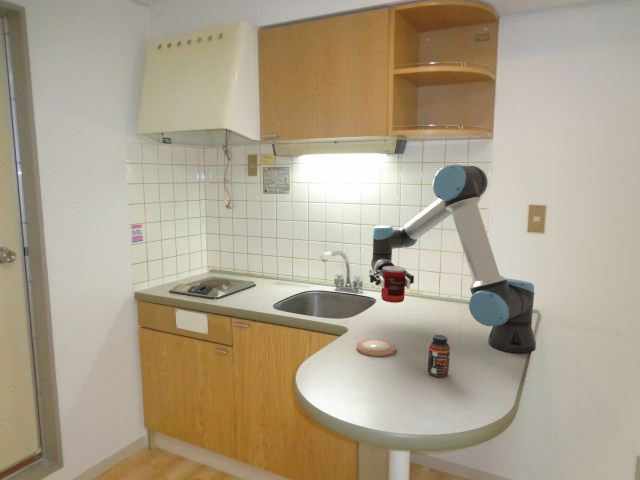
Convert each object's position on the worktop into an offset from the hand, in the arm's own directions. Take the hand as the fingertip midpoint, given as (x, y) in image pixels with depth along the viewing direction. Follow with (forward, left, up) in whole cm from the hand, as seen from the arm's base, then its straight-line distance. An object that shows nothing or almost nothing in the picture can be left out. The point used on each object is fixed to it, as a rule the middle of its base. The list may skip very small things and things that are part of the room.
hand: (395, 284), depth 152 cm
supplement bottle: (-21, +2, -23) cm, 31 cm away
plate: (+4, +5, -22) cm, 23 cm away
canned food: (+4, -3, -7) cm, 8 cm away
